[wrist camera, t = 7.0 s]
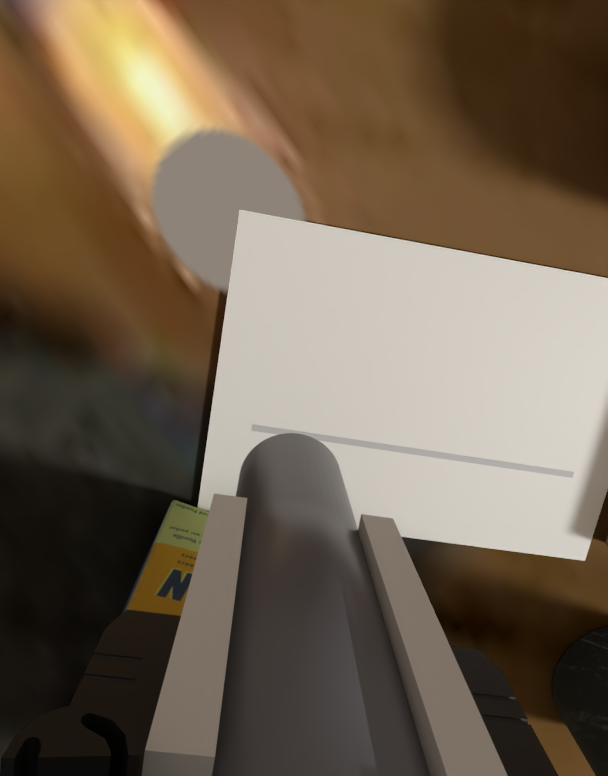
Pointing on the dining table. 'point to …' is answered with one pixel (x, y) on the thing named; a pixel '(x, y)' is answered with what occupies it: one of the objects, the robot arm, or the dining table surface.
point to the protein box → (169, 562)
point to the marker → (308, 632)
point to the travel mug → (586, 696)
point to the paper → (419, 382)
